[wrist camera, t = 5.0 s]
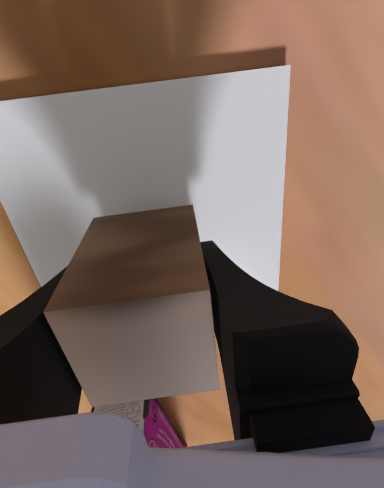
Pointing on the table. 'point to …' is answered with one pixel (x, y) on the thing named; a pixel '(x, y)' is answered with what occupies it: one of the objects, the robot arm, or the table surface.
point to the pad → (150, 163)
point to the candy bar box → (147, 421)
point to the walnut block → (137, 309)
